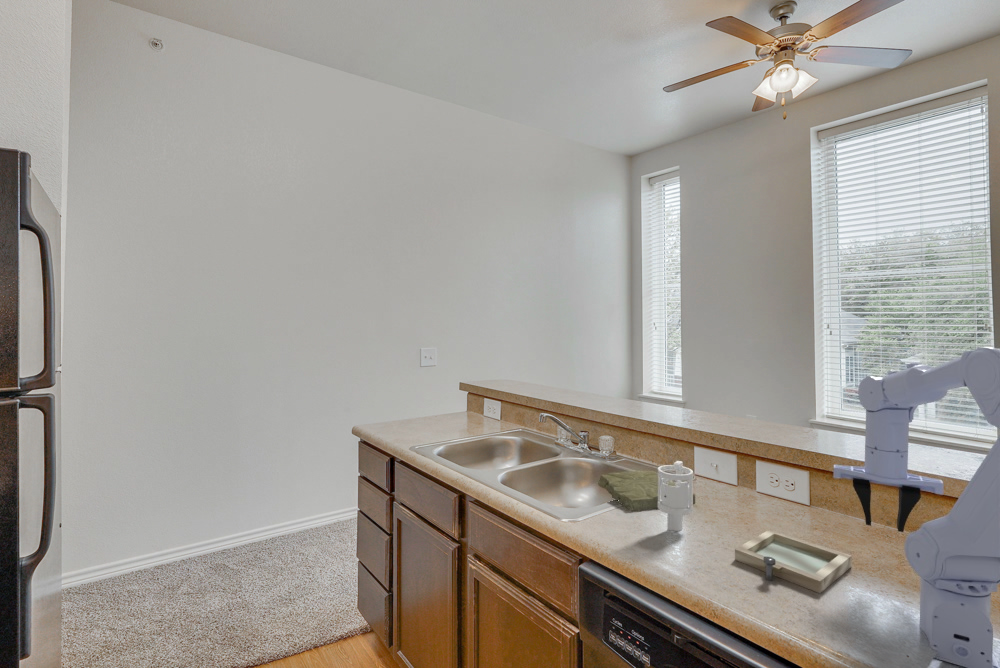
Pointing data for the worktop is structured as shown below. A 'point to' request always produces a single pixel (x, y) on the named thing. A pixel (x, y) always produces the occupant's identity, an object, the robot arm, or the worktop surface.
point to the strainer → (675, 494)
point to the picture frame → (795, 559)
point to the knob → (769, 567)
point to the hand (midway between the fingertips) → (883, 526)
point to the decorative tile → (634, 488)
